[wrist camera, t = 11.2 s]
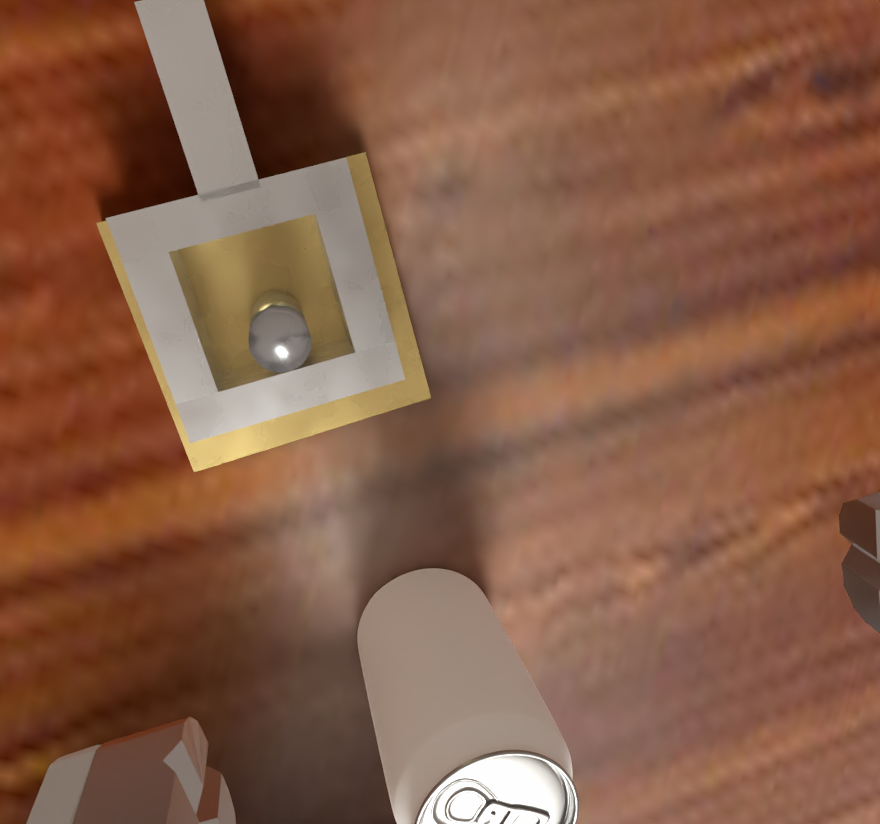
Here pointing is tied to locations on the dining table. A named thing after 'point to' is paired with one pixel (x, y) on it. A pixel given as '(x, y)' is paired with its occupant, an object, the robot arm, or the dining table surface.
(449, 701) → the can
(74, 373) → the dining table surface
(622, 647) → the dining table surface
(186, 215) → the grey square frame handle
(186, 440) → the post
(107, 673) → the dining table surface
